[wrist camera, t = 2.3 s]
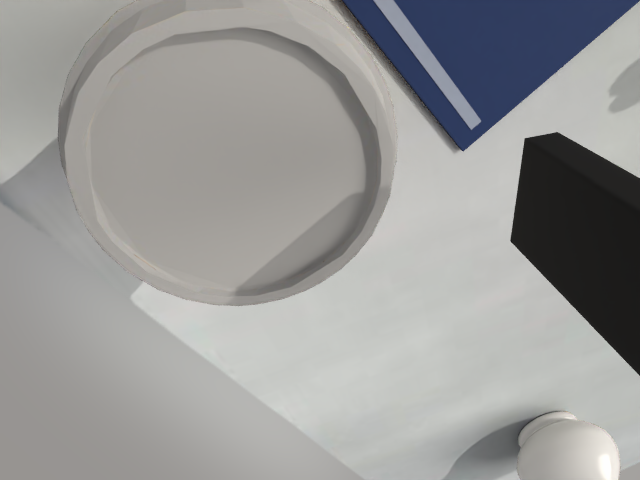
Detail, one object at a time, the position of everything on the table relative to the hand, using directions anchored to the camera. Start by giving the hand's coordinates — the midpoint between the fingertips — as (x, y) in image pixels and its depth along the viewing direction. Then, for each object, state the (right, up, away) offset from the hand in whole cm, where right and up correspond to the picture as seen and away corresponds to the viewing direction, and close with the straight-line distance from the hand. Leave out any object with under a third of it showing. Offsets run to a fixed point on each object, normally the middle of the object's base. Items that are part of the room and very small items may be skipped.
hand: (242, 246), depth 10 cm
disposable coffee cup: (-2, +8, +12) cm, 15 cm away
